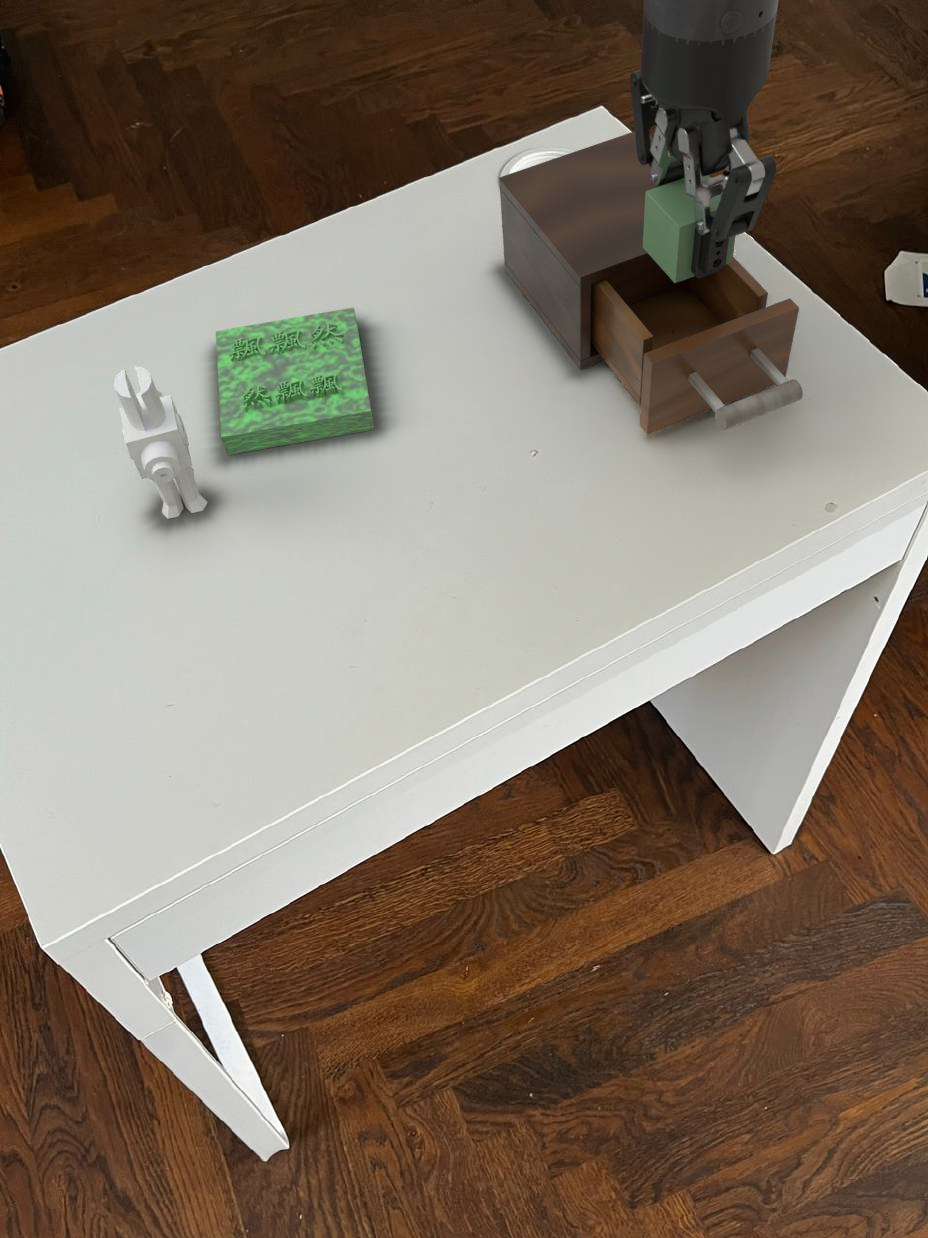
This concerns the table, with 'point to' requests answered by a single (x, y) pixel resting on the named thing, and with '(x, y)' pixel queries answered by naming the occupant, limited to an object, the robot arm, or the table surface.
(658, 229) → the block
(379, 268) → the table surface
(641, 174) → the cabinet
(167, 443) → the toy robot
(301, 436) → the green jade tablet
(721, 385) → the drawer
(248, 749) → the table surface
